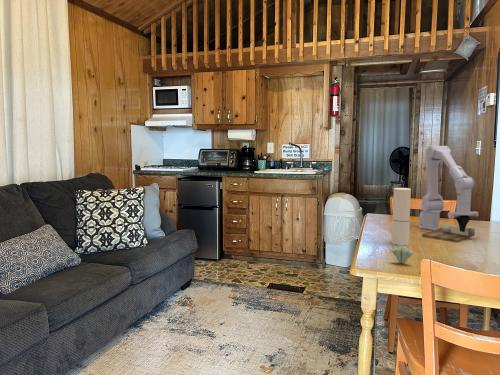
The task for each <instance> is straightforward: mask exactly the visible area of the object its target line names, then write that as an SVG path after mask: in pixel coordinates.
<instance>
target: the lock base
mask: <svg viewBox="0 0 500 375" xmlns="http://www.w3.org/2000/svg"><path fill="white" fill-rule="evenodd" d="M421 235H422V236H421V237H423V238H428V239H434V240H438V241H439V240H441V241H445V242H452V243H460V242H462V241H464V240H467V239H470V238H471V237H472V236H468V235H462V234H456V233H448V232H443V227H442V228H439V229H436V230H430V231H427V232H425V233H422V234H421ZM475 235H476V233H475V232H474V236H475Z"/></svg>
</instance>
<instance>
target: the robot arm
mask: <svg viewBox="0 0 500 375" xmlns="http://www.w3.org/2000/svg"><path fill="white" fill-rule="evenodd" d="M451 154H452V149H450V147H449V145H429V146H428V147H427V148H426V150H425V161H426V181H427V182H426V185H427V186H426V188H427V193H426V194H425V195H423V196H422V198H421V199H422V200H421V209H422V210H421V211H420V213H419V217H418V219H419V220H418V226H417V227H418V229H419V228H420V229H426V230H430V231H433V230H436V229H439V228H443V226H442V227H441V226H440V217H441V216H440V215H441V213H442V211H443V210H444V207H445V204H444V200H443V196H442V195H441V194H439V163H441V162H442V161H443V163H444V164H445V165H446V166H447V168H448V169H449V171H448V173H449V175H450V176H451V178H452V179H453V181H454V187H455V193H456V209H455V211H451V212H450V211H449V212H448V211H447V217H449V218H454V217H455V219H456V221H457V223H458V226H459V227H460V231H462V232H465V228H467V225H468V223H469V222H470V221H471V217H479V211H471V203H472V201H471V200H472V190H473V189H474V188H475V186H476V182H475V180H474V178H473V177H472V176H469V175H468V174H466V172H465V170H464V169H463V167H462V166H460V165H457V163H456V162H455V160H454V158H453V157H452V155H451Z"/></svg>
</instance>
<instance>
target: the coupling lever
mask: <svg viewBox="0 0 500 375" xmlns="http://www.w3.org/2000/svg"><path fill="white" fill-rule="evenodd" d="M442 228H443V232H448V233H456V234H462V235H468V236H471V237H475V235H474V233H475V231H476V230H475V228H470V227H466V228H465V232H462V231H460V227H459V225H453V224H446V223H445V224H442Z"/></svg>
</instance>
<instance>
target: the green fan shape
mask: <svg viewBox="0 0 500 375" xmlns="http://www.w3.org/2000/svg"><path fill="white" fill-rule="evenodd" d="M390 252H391V253H392V254H393V256H394V257H396V260H397V261H398V263H399V264H401V265H402V264H405V263H407V261H408V260H409V259H410V258H411V257H412V256H413V255H414V252H413V251H412V250H410V249H408V248H407V247H406V245H399V247H396V248H392V249H391V250H390Z"/></svg>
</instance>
